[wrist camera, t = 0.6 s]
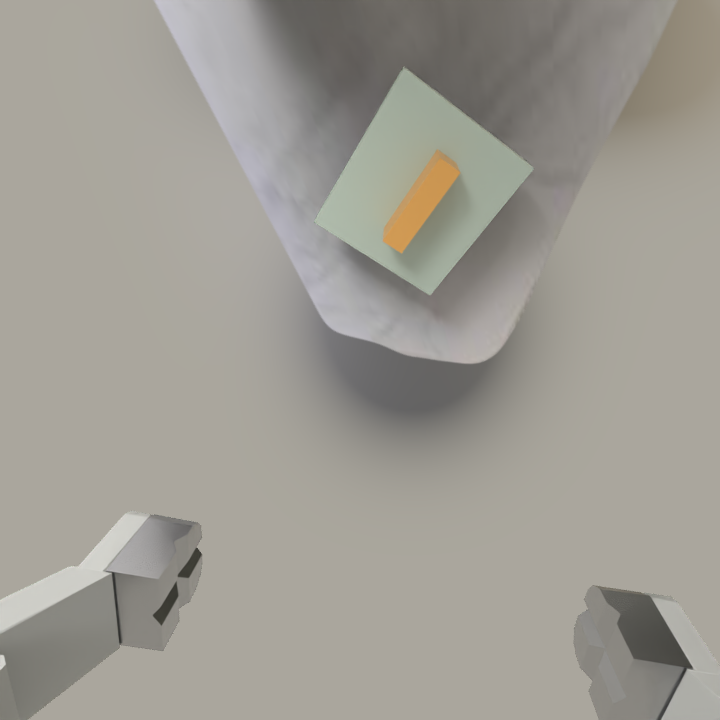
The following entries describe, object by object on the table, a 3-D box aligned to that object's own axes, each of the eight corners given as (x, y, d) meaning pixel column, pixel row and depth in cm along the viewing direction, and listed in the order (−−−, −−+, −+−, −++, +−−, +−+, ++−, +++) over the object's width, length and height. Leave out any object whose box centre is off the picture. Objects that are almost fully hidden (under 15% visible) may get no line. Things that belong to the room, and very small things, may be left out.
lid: (403, 65, 38) (403, 70, 33) (526, 160, 41) (544, 178, 36) (318, 212, 45) (307, 235, 40) (428, 282, 49) (431, 312, 43)
